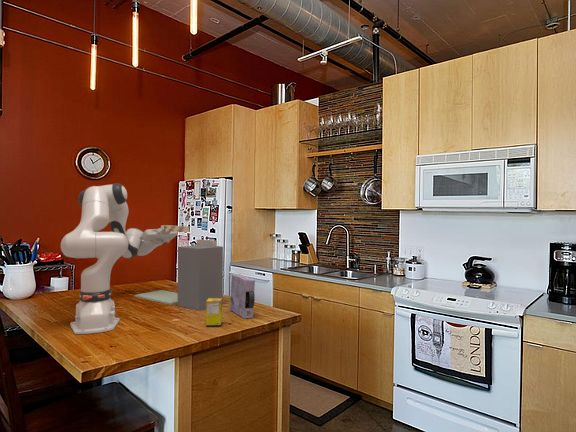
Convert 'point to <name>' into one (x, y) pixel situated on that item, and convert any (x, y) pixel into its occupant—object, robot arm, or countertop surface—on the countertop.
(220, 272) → the charcoal stand
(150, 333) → the countertop surface
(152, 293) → the sage mat
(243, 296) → the cake pan box
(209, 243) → the pale wood bar
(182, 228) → the long maple bar
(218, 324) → the supplement box
